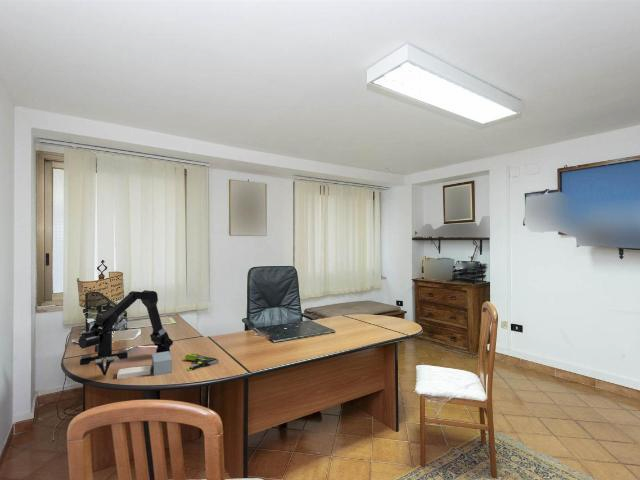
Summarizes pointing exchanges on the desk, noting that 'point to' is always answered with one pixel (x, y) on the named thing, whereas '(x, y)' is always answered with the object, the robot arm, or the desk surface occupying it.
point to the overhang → (162, 363)
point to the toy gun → (200, 361)
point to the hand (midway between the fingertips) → (104, 375)
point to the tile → (134, 372)
